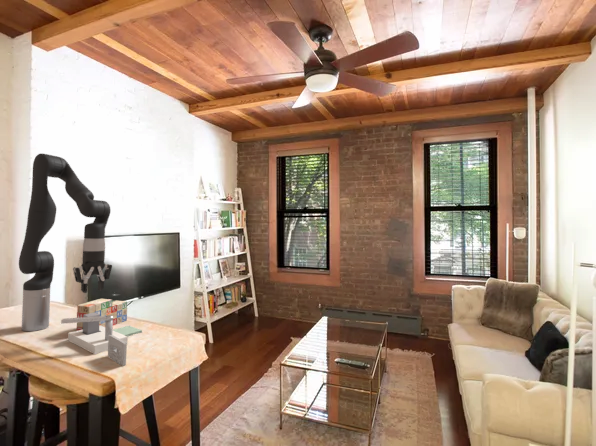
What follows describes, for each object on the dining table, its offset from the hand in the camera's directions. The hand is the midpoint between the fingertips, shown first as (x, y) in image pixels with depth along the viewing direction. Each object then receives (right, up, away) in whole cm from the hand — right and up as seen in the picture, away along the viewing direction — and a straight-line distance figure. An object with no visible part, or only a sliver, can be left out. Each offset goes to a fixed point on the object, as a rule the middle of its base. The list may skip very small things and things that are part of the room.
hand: (92, 291), depth 129 cm
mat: (+8, -20, +9) cm, 23 cm away
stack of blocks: (-5, -20, +15) cm, 25 cm away
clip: (+5, -9, -10) cm, 14 cm away
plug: (-1, -19, 0) cm, 19 cm away
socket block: (+4, -20, -3) cm, 20 cm away
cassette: (+20, -21, -18) cm, 34 cm away
